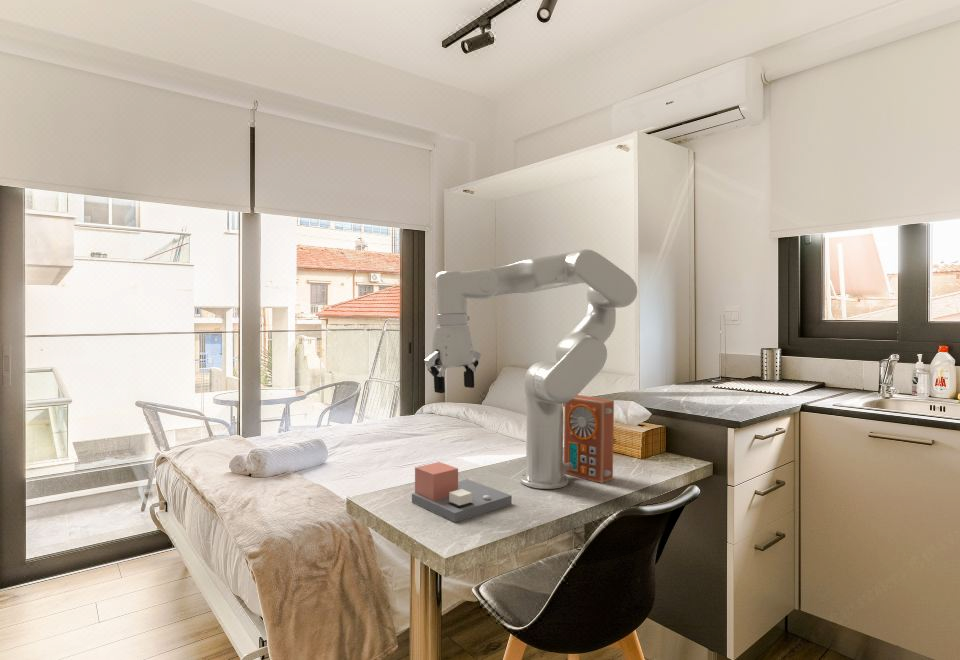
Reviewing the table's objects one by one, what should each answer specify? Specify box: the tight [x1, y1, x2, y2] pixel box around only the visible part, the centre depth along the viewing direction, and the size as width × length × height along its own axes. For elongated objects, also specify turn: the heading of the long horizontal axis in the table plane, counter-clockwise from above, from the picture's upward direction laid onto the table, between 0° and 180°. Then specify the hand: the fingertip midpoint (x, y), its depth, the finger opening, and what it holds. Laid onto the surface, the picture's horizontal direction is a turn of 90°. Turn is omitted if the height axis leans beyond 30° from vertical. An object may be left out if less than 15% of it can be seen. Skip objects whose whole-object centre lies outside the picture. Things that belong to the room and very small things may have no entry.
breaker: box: [449, 489, 472, 506], centre depth 121 cm, size 4×4×2 cm
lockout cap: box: [414, 461, 459, 501], centre depth 128 cm, size 7×7×6 cm
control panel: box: [562, 394, 615, 484], centre depth 148 cm, size 21×7×15 cm
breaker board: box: [411, 478, 513, 523], centre depth 127 cm, size 17×16×3 cm
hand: (454, 389), depth 135 cm, fingers open, 9 cm apart
